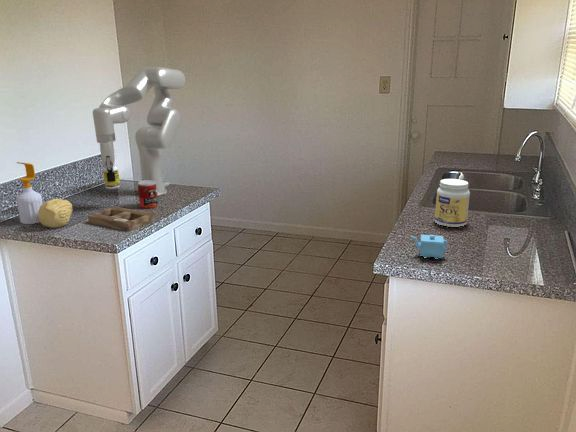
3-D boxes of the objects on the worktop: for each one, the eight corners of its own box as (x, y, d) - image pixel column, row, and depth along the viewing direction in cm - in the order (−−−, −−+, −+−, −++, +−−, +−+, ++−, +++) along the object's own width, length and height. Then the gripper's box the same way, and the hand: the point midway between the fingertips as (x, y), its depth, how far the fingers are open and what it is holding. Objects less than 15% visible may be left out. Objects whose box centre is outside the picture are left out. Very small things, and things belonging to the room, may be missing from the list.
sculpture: (58, 231, 203) (54, 204, 199) (33, 228, 207) (29, 201, 203) (79, 222, 213) (75, 196, 209) (55, 219, 217) (51, 194, 213)
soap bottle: (15, 223, 212) (4, 163, 205) (33, 216, 220) (23, 158, 213) (33, 225, 209) (22, 164, 202) (50, 218, 217) (40, 160, 210)
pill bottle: (116, 189, 225) (112, 164, 221) (102, 189, 226) (98, 163, 223) (123, 185, 231) (119, 160, 227) (110, 184, 232) (106, 160, 228)
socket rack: (115, 213, 224) (114, 205, 223) (154, 220, 214) (153, 213, 213) (88, 222, 212) (87, 214, 211) (129, 231, 202) (128, 223, 201)
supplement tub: (432, 226, 204) (435, 184, 198) (436, 217, 214) (439, 176, 209) (465, 230, 199) (470, 187, 194) (467, 220, 210) (472, 179, 205)
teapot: (409, 258, 174) (410, 237, 172) (409, 251, 180) (410, 230, 178) (447, 261, 172) (449, 239, 169) (446, 254, 177) (448, 233, 175)
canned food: (145, 210, 227) (142, 185, 224) (136, 206, 233) (134, 182, 230) (161, 206, 232) (159, 182, 229) (152, 202, 238) (150, 179, 234)
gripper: (97, 134, 228) (103, 175, 234) (95, 142, 213) (101, 185, 219) (115, 133, 230) (121, 173, 236) (114, 141, 214) (120, 183, 221)
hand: (111, 178), depth 227 cm, fingers closed on pill bottle, 6 cm apart
